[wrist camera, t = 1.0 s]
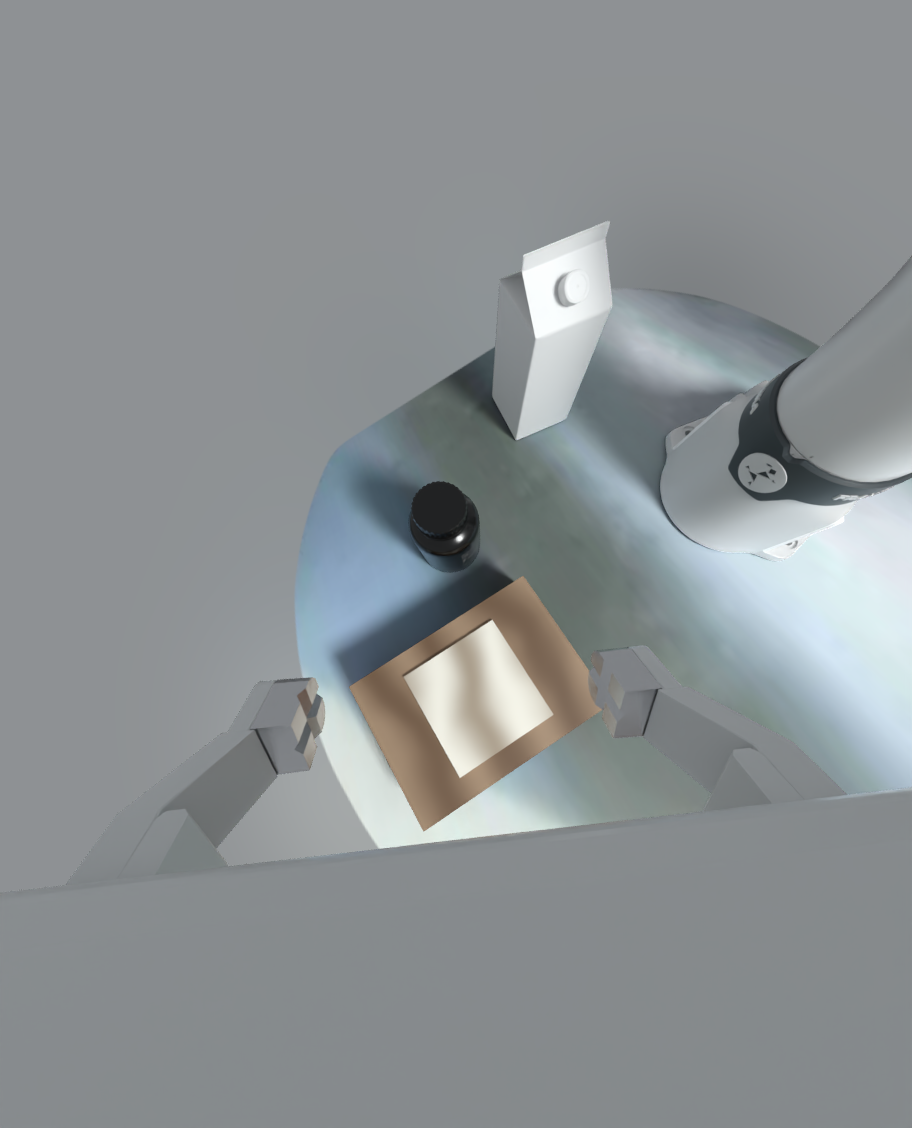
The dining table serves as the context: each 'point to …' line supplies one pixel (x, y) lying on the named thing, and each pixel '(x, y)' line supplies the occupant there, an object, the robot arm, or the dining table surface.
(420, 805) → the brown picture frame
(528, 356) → the milk carton
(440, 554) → the supplement bottle
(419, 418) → the dining table surface
